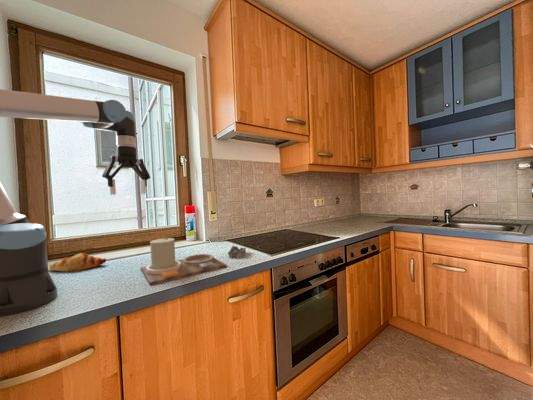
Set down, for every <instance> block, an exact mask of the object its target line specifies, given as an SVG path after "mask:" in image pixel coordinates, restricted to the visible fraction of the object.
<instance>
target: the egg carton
mask: <svg viewBox="0 0 533 400" xmlns="http://www.w3.org/2000/svg"><path fill="white" fill-rule="evenodd" d="M230 248H231V249H230V250H229V251H228V252H227V255H228V258H229V259H234V258H236V259H241V258H243V256H245V254H246V251H247V247H240V248H239V247H238V246H235V245H232V246H231V247H230Z"/></svg>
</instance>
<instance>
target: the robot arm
mask: <svg viewBox="0 0 533 400" xmlns="http://www.w3.org/2000/svg"><path fill="white" fill-rule="evenodd" d="M0 118H12V119H13V118H15V119H29V120H31V119H32V120H49V121H51V120H52V121H66V122H67V121H68V122H69V121H70V122H80V123H81V125H82V127H84V128H89V129H92V130H100V131H106V132H107V131H108V132H115V140H116V142H115V144H116V146H117V147H116V155H117V156H116V155H110V156H109V161H108V163H107V165H106V167H105V169H104V171H103V173H102V175H101V176H102V178H105V179H107V187H109V189H110V190H109V193H110V195H113V196H114V195H117V194H116V193H117V188H116V179H115V178H114V177H116V175H117V174H119V172H120V171H121V169H122V168H123V169H125V168H127V169H132V170H133V171H134V172H135V173H136V174H137V176H138V177H139V178H140V182H139V183H140V184H139V185H140V194H141V195H143V194H144V195H145V194H147V191H146V190H147V189H146V187H147V186H148V184H147V183H148V182H147V180H149V179H151V176H150V173H149V171H148V169H147V167H146V165H145V163H144V159H143V158H138V159H137V148H136V147H137V144H136V143H137V141H136V120H135V115H134V113H133V112H131V111H129V110H126V107H125V105H123V103H121V101H118V100H116V99H109V100H105V101H101V100H91V99H85V98H84V99H81V98H74V97H66V96H59V95H50V94H43V93H42V94H41V93H35V92H27V91H20V90H19V91H18V90H10V89H1V88H0ZM116 162H117V164H116ZM115 164H116V165H115ZM114 165H115V167H114ZM47 249H48V248H47V232H46V229H45V226H44V225H43V224H40V223H32V222H30V221H29V219H28V218H27V216H26V215H25V214H21V213H18V212H17V210H16V208H15V206H14V205H13V203H12V200H11V199H10V197H9V195H8V194H7V192H6V190H5V188H4V186H3V184H2V182H1V181H0V317H2V316H9V315H13V314H14V315H15V314H17V313H22V312H25V311H29V310H32V309H35V308H37V307H38V308H39V307H40V306H43V305H45V304H47V303H49V302H51V301H53V300H54V299H55V298H57V297H58V287H57V285H56V284H55V282H54V280H53V279H52V276H51V275H50V273H49V265H48V252H47V251H48V250H47Z"/></svg>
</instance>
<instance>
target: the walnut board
mask: <svg viewBox="0 0 533 400" xmlns="http://www.w3.org/2000/svg"><path fill="white" fill-rule="evenodd" d="M175 260H176V259H175ZM176 261H180V262H181V267H180V268H179V269H178V270H177V271H178V275H176V276H171V277H167V278H164V277H163V276H162V274H149V273H147V272H146V267H147V266H148V265H146V266H141V267H140V271H141V273H142V275H143V276H144V278H145V279H146V281H147V283H148V284H149V286H153V285H157V284H161V283H165V282H170V281H174V280H179V279H182V278H186V277H191V276H195V275H198V274H202V273H207V272H211V271H215V270H220V269H222V268H223V269H224V268H226V267H227V264H226V263H224V262H222V261H220V260H219V259H217V258H215V257H214V255H212V254H210V253H209V254H207V253H199V254H198V253H196V254H193V255H188V256H186V257H184V258H182V259H177V260H176ZM151 269H152V268H151Z"/></svg>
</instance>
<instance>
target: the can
mask: <svg viewBox="0 0 533 400" xmlns="http://www.w3.org/2000/svg"><path fill="white" fill-rule="evenodd" d="M149 244H150V245H149V246H150V260H151V264H152V269H154V270H159V269H167V268H171V267H174V266H176V263H175V260H176V251H175V250H176V249H175V248H176V247H175V244H176V242H175V238H173V237H171V238H170V237H164V238H158V239H154V240H153V239H152V240H150V241H149Z"/></svg>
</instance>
